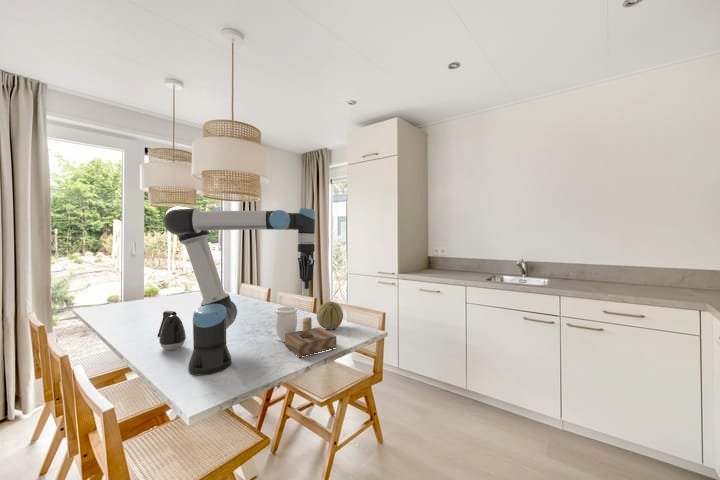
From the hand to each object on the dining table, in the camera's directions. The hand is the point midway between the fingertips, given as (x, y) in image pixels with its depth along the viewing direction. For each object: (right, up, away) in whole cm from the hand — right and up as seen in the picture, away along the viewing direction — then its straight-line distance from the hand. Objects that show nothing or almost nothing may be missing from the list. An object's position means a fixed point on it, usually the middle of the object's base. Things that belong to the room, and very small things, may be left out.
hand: (305, 295), depth 139 cm
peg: (+1, -22, 0) cm, 22 cm away
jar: (-12, -24, +13) cm, 30 cm away
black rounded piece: (-73, -24, +20) cm, 79 cm away
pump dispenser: (-60, -24, +1) cm, 65 cm away
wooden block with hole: (+2, -24, +2) cm, 24 cm away
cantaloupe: (+8, -24, +30) cm, 39 cm away
